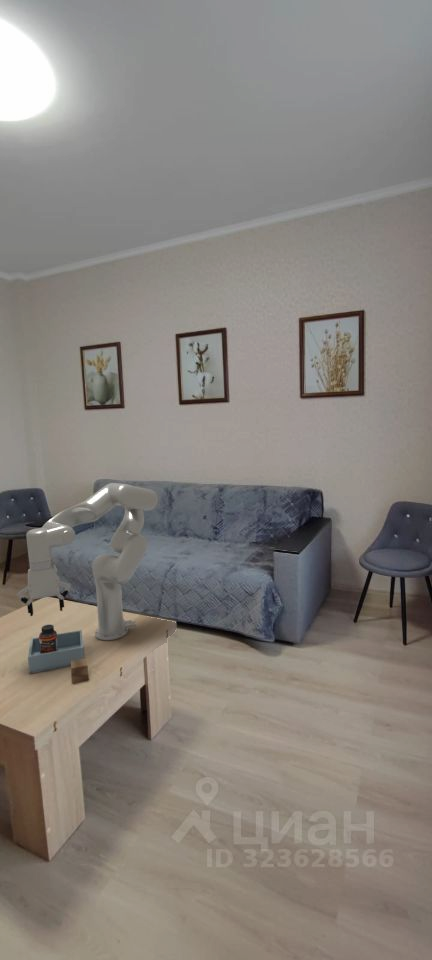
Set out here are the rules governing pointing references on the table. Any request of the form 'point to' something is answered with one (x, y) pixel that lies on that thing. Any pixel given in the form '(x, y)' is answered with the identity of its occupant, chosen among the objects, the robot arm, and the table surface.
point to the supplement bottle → (48, 639)
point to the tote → (56, 652)
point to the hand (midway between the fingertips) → (46, 612)
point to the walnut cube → (79, 670)
